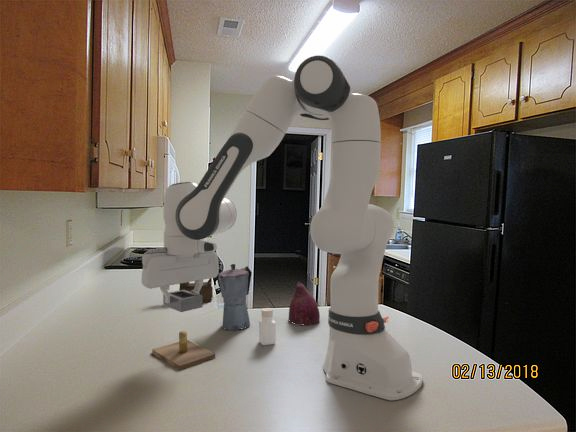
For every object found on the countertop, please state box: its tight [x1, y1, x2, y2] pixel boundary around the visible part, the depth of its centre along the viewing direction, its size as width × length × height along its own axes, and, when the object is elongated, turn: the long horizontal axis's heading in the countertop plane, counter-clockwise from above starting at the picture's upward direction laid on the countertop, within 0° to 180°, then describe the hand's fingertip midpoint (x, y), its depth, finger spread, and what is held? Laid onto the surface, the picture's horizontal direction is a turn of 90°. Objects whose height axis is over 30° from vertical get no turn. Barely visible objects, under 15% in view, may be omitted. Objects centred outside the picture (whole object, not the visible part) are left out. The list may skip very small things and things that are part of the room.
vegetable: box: [288, 281, 321, 326], centre depth 125 cm, size 10×10×15 cm
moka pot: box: [217, 263, 252, 331], centre depth 121 cm, size 10×15×20 cm, turn 152°
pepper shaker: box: [258, 307, 277, 346], centre depth 106 cm, size 4×4×10 cm
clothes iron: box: [178, 278, 214, 303], centre depth 152 cm, size 8×16×13 cm, turn 102°
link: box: [162, 289, 204, 313], centre depth 97 cm, size 9×6×3 cm, turn 45°
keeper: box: [151, 330, 216, 371], centre depth 98 cm, size 14×10×6 cm
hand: (182, 299), depth 97 cm, fingers closed on link, 6 cm apart
